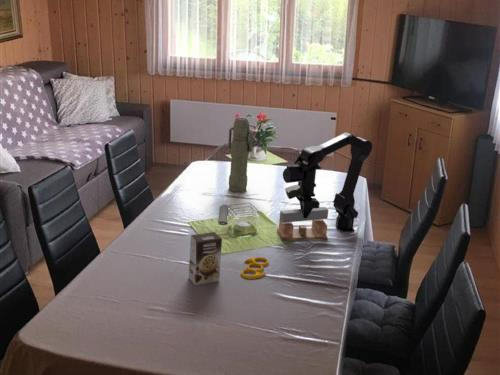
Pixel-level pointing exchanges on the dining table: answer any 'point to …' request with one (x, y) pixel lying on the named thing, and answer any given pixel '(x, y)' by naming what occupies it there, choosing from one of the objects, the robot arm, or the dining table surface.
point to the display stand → (303, 231)
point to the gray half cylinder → (223, 214)
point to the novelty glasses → (256, 271)
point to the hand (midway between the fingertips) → (304, 216)
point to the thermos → (239, 154)
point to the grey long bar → (298, 215)
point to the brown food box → (205, 258)
